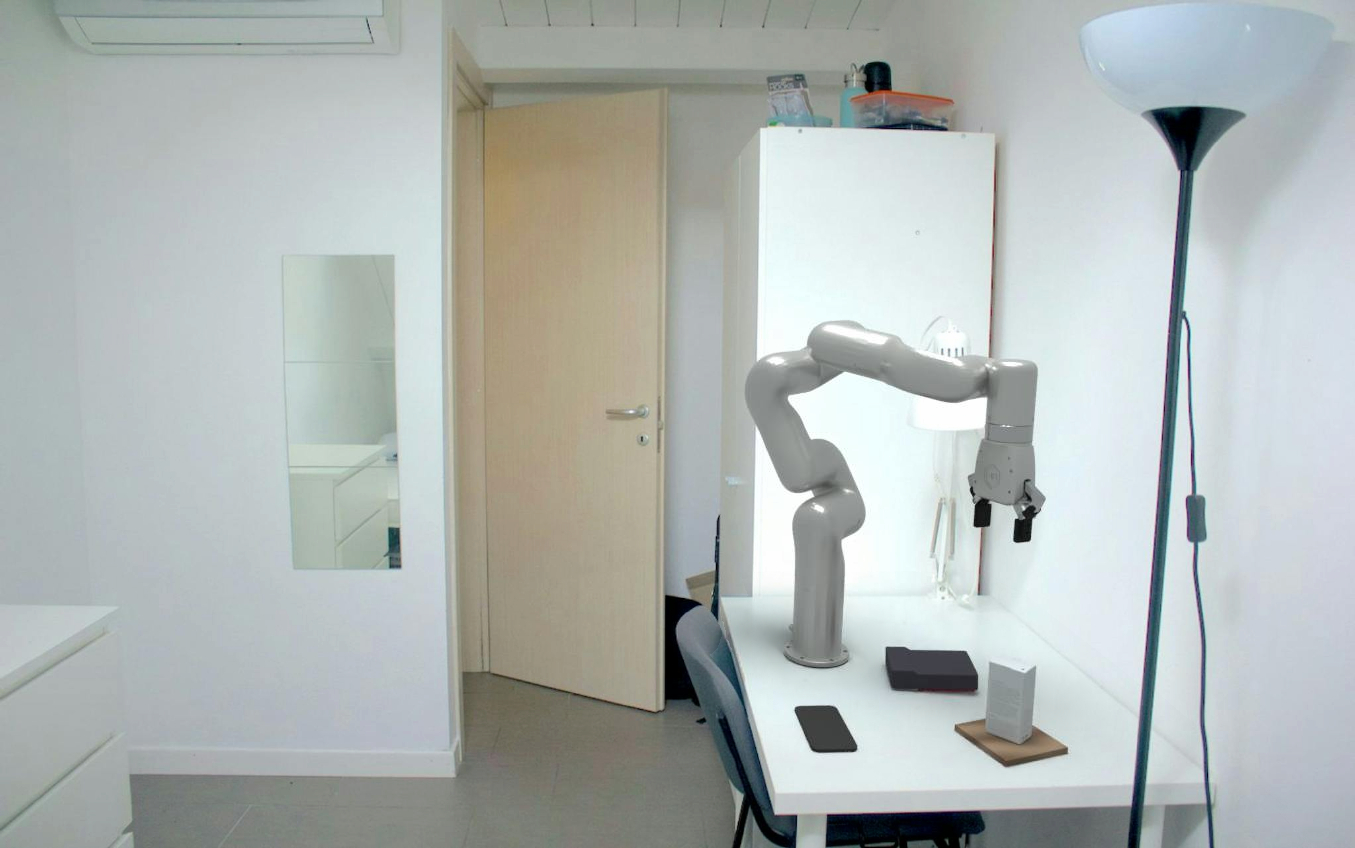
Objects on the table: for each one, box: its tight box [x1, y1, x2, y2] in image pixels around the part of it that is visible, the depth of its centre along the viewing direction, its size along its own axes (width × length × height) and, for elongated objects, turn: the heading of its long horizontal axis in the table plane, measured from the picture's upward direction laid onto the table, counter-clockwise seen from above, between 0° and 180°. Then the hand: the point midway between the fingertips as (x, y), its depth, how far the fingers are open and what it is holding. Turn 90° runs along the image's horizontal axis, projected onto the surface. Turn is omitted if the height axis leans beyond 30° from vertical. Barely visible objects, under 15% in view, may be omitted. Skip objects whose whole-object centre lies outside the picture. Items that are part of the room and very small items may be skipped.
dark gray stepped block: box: [884, 646, 979, 693], centre depth 165 cm, size 11×4×15 cm
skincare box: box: [985, 654, 1037, 744], centre depth 143 cm, size 6×4×12 cm
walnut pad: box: [953, 718, 1069, 768], centre depth 143 cm, size 12×12×1 cm
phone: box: [794, 704, 858, 754], centre depth 147 cm, size 7×1×15 cm
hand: (1001, 534), depth 152 cm, fingers open, 9 cm apart
